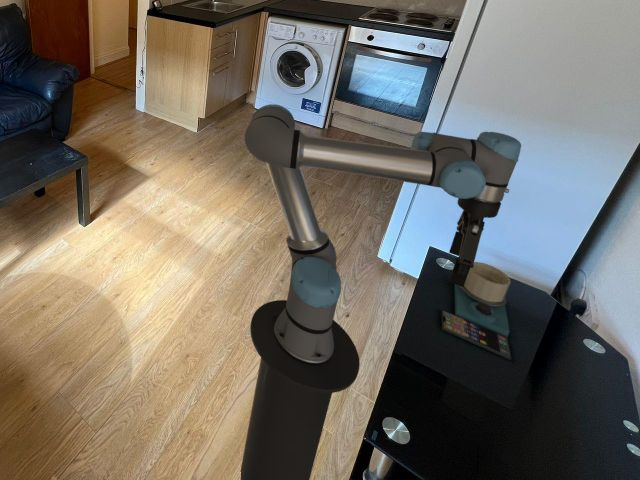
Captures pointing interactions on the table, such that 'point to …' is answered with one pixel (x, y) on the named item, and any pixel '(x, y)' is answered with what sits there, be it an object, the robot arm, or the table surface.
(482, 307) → the tare button
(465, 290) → the scale pan
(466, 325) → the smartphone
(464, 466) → the table surface
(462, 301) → the scale
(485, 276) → the bowl
